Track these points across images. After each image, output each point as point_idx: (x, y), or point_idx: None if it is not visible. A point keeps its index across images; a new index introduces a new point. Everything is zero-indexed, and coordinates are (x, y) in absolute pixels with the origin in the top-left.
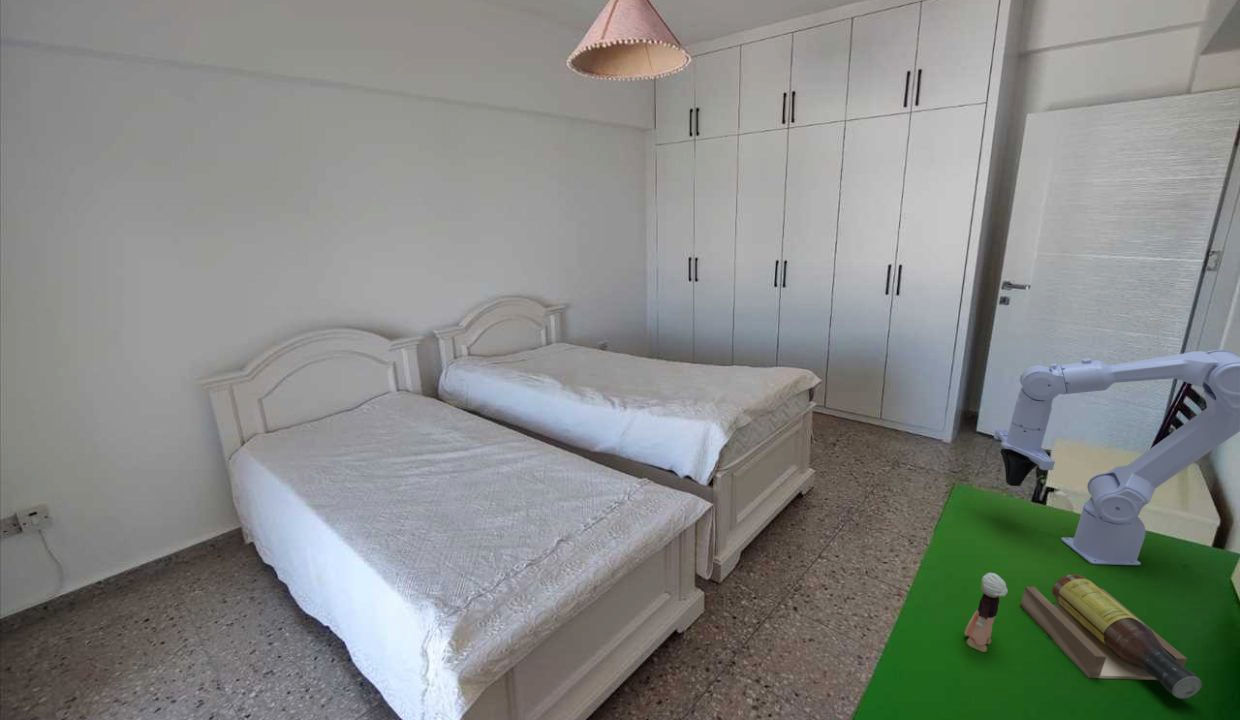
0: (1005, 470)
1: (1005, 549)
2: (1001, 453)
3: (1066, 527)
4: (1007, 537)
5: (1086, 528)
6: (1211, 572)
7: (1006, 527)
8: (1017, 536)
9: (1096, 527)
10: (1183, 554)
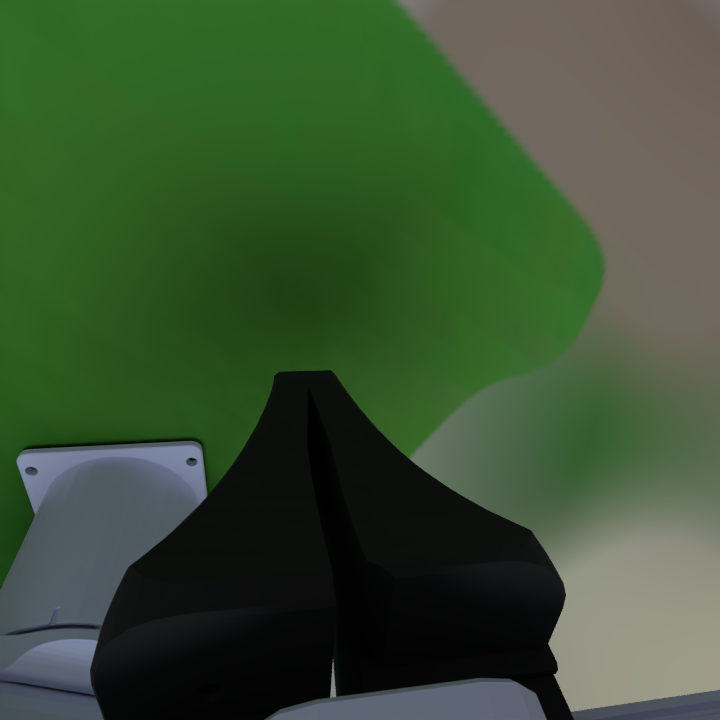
0: (369, 422)
1: (55, 128)
2: (497, 527)
3: None
4: (190, 221)
5: (65, 549)
6: None
7: (286, 276)
8: (207, 279)
9: (15, 589)
10: None
